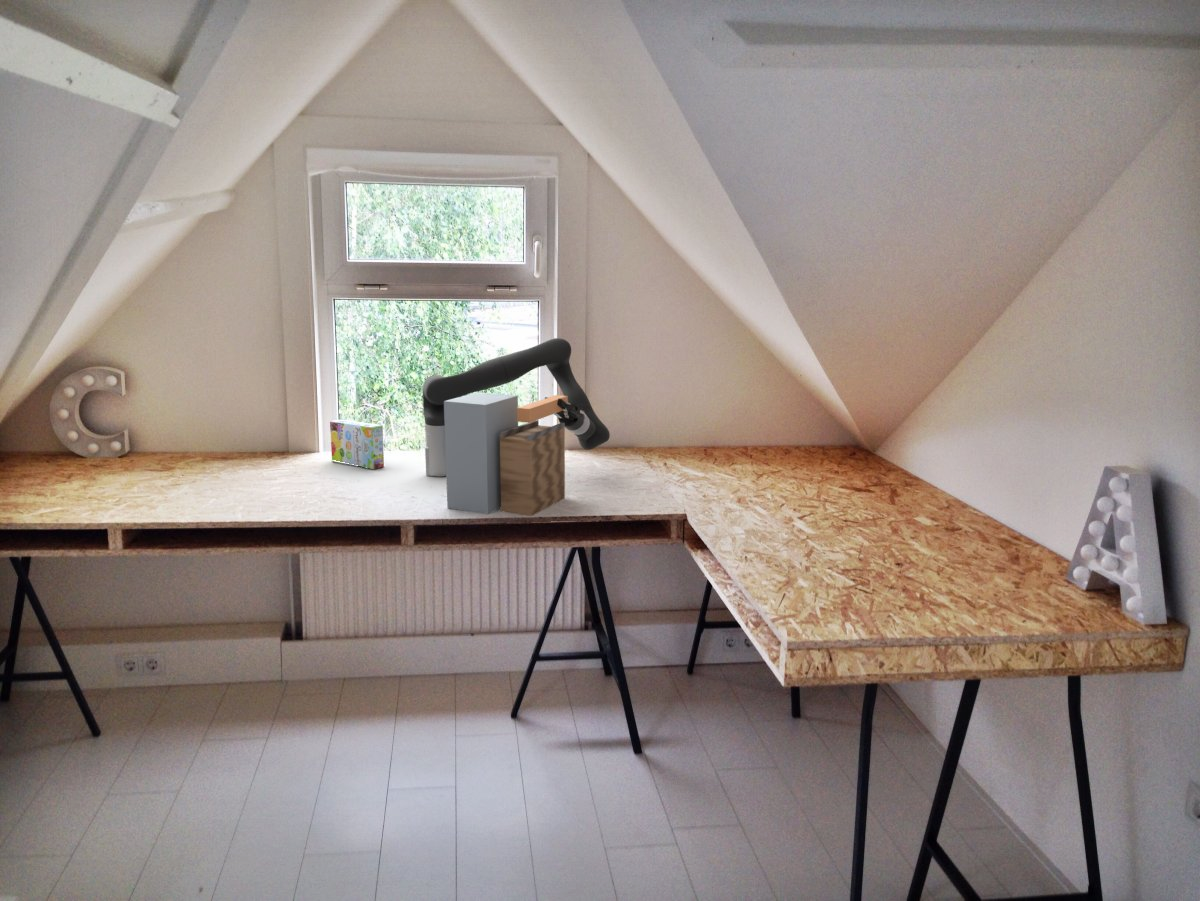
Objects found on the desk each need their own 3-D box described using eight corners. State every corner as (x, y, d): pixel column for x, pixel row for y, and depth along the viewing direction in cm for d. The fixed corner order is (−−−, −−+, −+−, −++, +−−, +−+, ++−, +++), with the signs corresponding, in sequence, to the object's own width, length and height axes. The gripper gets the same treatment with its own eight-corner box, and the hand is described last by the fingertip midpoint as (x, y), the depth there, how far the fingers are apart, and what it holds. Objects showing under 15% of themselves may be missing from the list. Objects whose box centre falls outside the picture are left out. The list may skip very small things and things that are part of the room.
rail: (529, 422, 270) (529, 408, 269) (517, 421, 272) (517, 407, 271) (567, 408, 291) (567, 396, 290) (556, 407, 293) (556, 395, 292)
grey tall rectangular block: (487, 514, 272) (485, 404, 265) (447, 508, 278) (443, 401, 270) (519, 499, 288) (517, 395, 281) (480, 493, 293) (477, 392, 286)
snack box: (385, 467, 327) (383, 424, 324) (373, 470, 323) (371, 427, 319) (342, 459, 338) (340, 418, 335) (330, 462, 334) (328, 420, 330)
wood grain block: (531, 515, 270) (530, 435, 265) (501, 511, 274) (499, 432, 269) (564, 498, 289) (564, 423, 284) (536, 494, 293) (535, 420, 288)
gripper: (557, 407, 305) (534, 387, 289) (596, 410, 299) (575, 390, 284) (552, 429, 303) (528, 410, 288) (591, 432, 297) (570, 414, 282)
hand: (552, 400), depth 286 cm, fingers closed on rail, 4 cm apart
